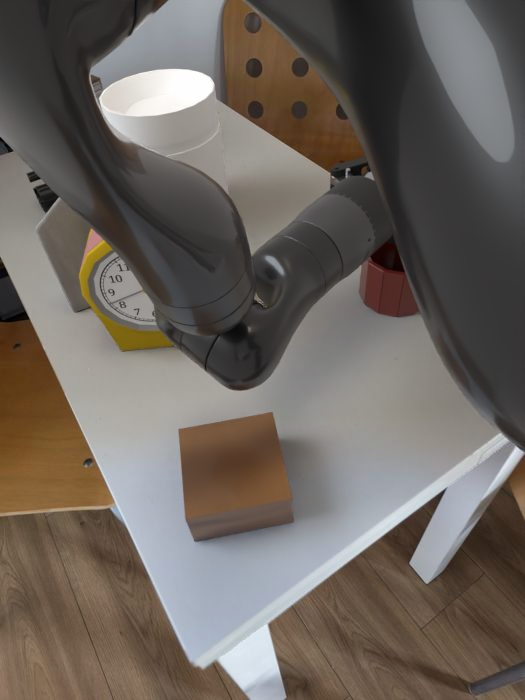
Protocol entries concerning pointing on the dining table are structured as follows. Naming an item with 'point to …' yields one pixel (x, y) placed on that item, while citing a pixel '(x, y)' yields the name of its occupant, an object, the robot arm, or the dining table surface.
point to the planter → (65, 249)
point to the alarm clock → (118, 298)
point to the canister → (170, 117)
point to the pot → (386, 283)
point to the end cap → (43, 192)
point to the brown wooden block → (234, 477)
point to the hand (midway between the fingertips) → (426, 158)
